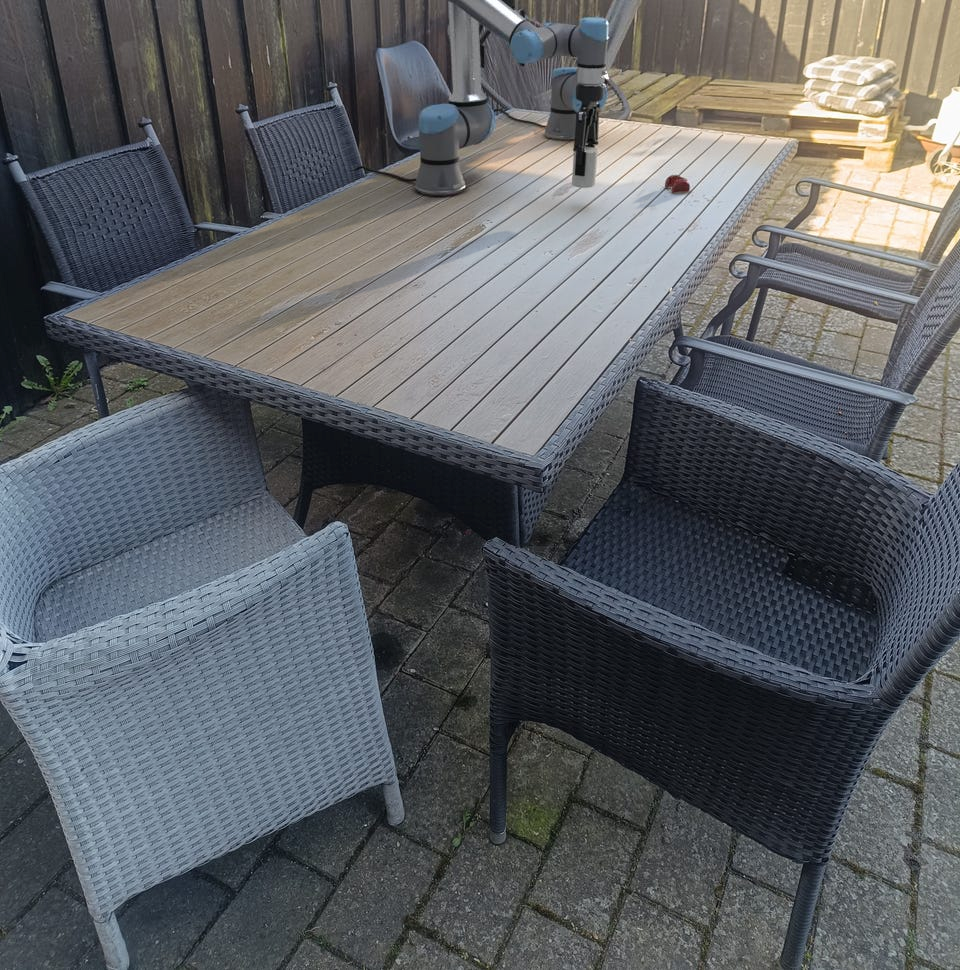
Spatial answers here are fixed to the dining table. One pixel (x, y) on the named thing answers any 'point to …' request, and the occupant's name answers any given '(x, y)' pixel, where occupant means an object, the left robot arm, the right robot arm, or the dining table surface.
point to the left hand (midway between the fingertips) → (583, 171)
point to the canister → (586, 169)
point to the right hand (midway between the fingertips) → (502, 66)
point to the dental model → (677, 183)
